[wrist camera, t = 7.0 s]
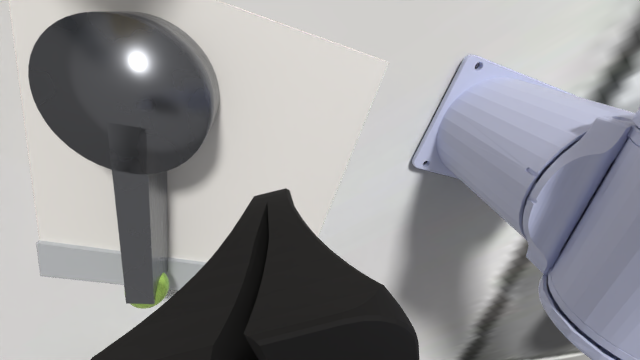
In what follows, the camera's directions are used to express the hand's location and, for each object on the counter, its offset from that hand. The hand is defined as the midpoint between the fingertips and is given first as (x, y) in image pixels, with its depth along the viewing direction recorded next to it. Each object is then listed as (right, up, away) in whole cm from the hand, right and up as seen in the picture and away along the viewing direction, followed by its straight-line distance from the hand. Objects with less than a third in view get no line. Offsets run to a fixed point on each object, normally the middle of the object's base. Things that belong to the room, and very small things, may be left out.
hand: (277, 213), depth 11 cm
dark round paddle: (-8, +1, +7) cm, 11 cm away
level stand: (-6, +2, +9) cm, 11 cm away
